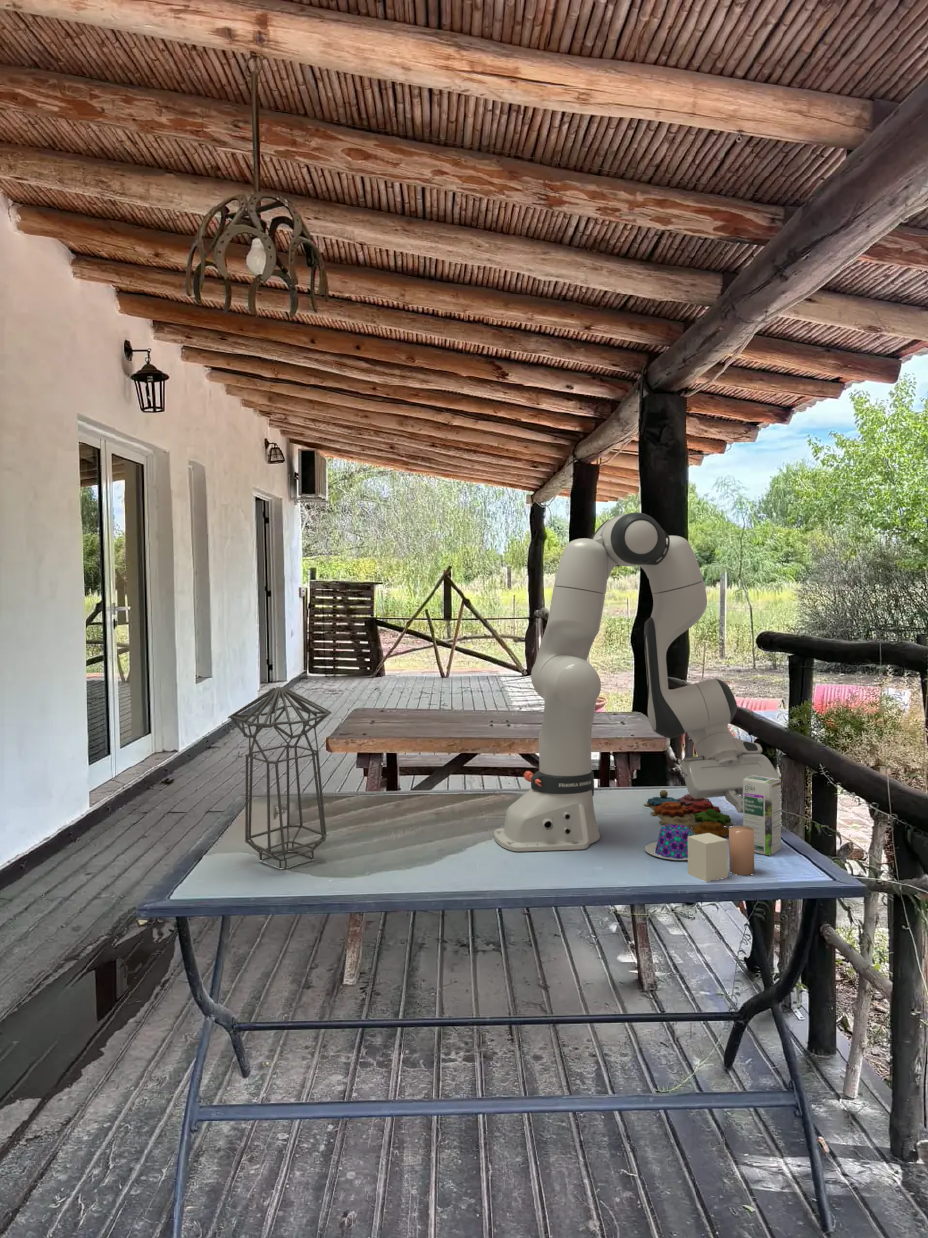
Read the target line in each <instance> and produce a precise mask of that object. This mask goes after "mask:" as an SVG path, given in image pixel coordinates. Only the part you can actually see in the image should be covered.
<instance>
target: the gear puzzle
mask: <svg viewBox="0 0 928 1238" xmlns="http://www.w3.org/2000/svg"><path fill="white" fill-rule="evenodd" d="M668 796H669V794H668V791H667V790H665V789H662V790H660V791H659V796H653V797H651V798H648V799H647V801H646V802H647V803H643V807H644V806H645V807H650V808H649V809H651V810H652V811H650V812H649V814H650V815H651V816H652V817H658V818H659V819H661V820H658V823H659V825H660V826H664V825H669V824H673V825H676V824H677V825H682V826H686V827H688V828H689V829H690V830H691V832H693V833H694V834H693V835H699V834H705V833H711V834H714V835H716V836H719V837H728V836H727V835H729V827H724V826H734V824H733V823H732V819H731V818H730V815H729V814H724V813H722V811H721V809H720V807H718V806H715V805H714V804H713V803H712V801H711V800H710V798H699V799H694V798H693V797H692V796H690V794H689V793H687V794H685V795H683V796H681V797H679V798H674V797H672V796H671V797H670V796H669V797H668ZM645 807H644V808H645ZM691 827H692V828H691Z"/></svg>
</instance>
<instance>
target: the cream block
mask: <svg viewBox="0 0 928 1238" xmlns="http://www.w3.org/2000/svg"><path fill="white" fill-rule="evenodd" d="M687 859H688V860H687V874H688V875H689V876H692V877H694V878H696V879H698V878H699V879H698V880H700V879H701V881H702V880H704V881H706V882H705V883H708V882H707V881H711V880H716V881H718V880H717V879H721V878H725V877H728V878H729V839H727V838H724V837H722V836H716V835H714V834H711V833H705V834H692V836H688V858H687ZM725 879H726V878H725ZM721 880H722V879H721ZM704 881H703V882H704ZM711 882H712V881H711Z"/></svg>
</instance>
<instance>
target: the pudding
mask: <svg viewBox="0 0 928 1238" xmlns="http://www.w3.org/2000/svg"><path fill="white" fill-rule="evenodd" d="M658 834H659V835H658V838H657V841H654V842H652V843H649V844H646V846H645V847H644V851H645V852H646V853H648V854H650V855H651V856H654V857H658V858H660V859H667V860H672V861H688V836H693V831H692V829H689V828H688V827H686V826H682V825H677V824H676V825H673V824H669V825H661V828H660V830H659V833H658Z"/></svg>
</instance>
